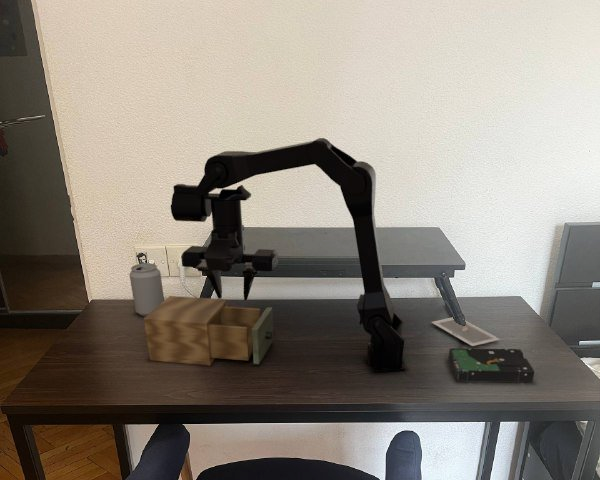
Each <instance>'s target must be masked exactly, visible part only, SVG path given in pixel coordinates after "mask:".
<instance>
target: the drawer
mask: <svg viewBox="0 0 600 480" xmlns="http://www.w3.org/2000/svg"><path fill="white" fill-rule="evenodd" d="M273 315H274V314H273V307H269V306H267V307H266V308H265V310H264V311H263V312H261V308H254V307H239V306H227V307H226V306H224V307H223V308H222V309H221V311H220V312H219V313H218V314H217V315H216V316H215V317H214V319H213V320H212V321H211V322H210V323H209V324H208V334H209V344H210V354H211V358H215V359H223V360H236V361H247V362H248V361H250V359H251V357H253V358H252V359H253V360H252V361H253V365H260V364H261V362H262V361H263V359H264V358H265V355H267V352H268V350H269V349H270V347H271V345H272V343H273V341H274V317H273Z"/></svg>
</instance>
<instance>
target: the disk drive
mask: <svg viewBox="0 0 600 480" xmlns="http://www.w3.org/2000/svg"><path fill="white" fill-rule="evenodd" d="M448 361H449V364H450V367H451V368H452V371H453V374H454V376H455V379H456V381H459V382H475V383H476V382H481V383H482V382H483V383H485V382H486V383H487V382H488V383H490V382H491V383H492V382H493V383H529V382H531V383H533V381H534V376H535V370H534V368H533V367H532V366H531V363H530V362H529V361H528V359H527V358H525V356H524V353H523V350H522V349H519V348H518V349H517V348H507V349H506V348H463V347H462V348H449V351H448Z"/></svg>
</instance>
